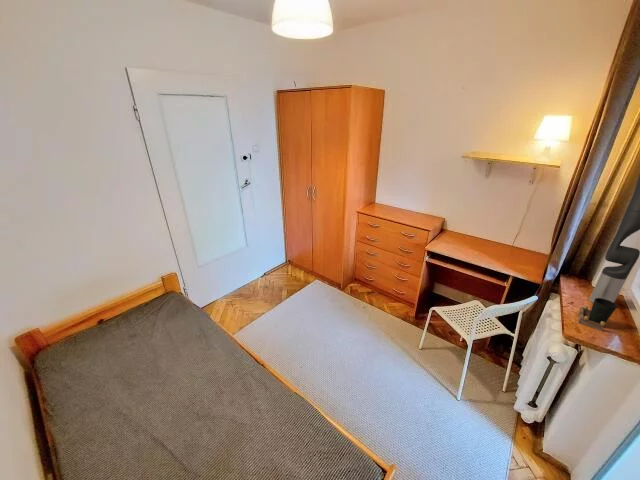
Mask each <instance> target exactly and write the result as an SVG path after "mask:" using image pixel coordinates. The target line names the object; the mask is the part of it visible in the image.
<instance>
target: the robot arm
mask: <svg viewBox="0 0 640 480" xmlns="http://www.w3.org/2000/svg"><path fill="white" fill-rule="evenodd" d="M638 231H640V173H639V174H638V178H637V180H636V184H635V187H634V191H633V193H632V196H631V198H630V201H629V203H628V205H627V207H626V209H625V211H624V214H623V215H622V219H621V221H620V224H619V226H618V229H617V231H616V233H615V236H614V237H613V239H612V241H611V242H610V245H608V246H609V247H608V248H607V250H606V253H605V256H604V258H605V260H606V261H607V262H610V263H615V264H619V265H617V266H605V267H604V268H603V269H602V270H601V272H600V275H599V278H598V280H597V282H596V284H595V285H594V288H593V289H592V292H591V295H590V296H589V301H590V302H591V303H592V304H593V303H594V300H595V298H602V299H606V300H609V301H611V302H613V303H616V300H617V298H618V297H619V295H620V293H621V290H622V289H623V286H624V284H625V283H626V281H627V278H628V276H629V275H630V273H631V271H632V269H633V267H634V266H635V264H636V263H637V261H638V259H639V257H640V250H639V248H635V247H631V246H626V245H625V246H624V245H621V244H622V243H623V242H624V241H625V240H626V239H627V238H628V237H630V236H631V235H633V234H635V233H637V232H638Z"/></svg>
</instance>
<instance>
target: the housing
mask: <svg viewBox="0 0 640 480" xmlns="http://www.w3.org/2000/svg"><path fill="white" fill-rule="evenodd" d="M590 312H591V310H590V309H589V306H588V305H584V306H583V307H580V308H579V310H578V319H577V320H578V321H577V323H578V324H580V325H582V326H586V327H588V328H591V329H595V330H597V331H600V332H603V330H604V327H605V324H606V323H605V322H603V321H601V323H600V324H599V323H596V322H593V321H590V320H588V319H589V315H590Z"/></svg>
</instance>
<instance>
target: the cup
mask: <svg viewBox="0 0 640 480" xmlns="http://www.w3.org/2000/svg"><path fill="white" fill-rule="evenodd" d="M617 308H618V305H617V303H616V302H614V303H613V302H611V301H609V300H606V299H602V298H595V300H594V303H593V302H592V306H591V312H590V315H589V316H588V317H589V318H588V320H590V321H593V322H596V323H599V324H600V323H601V321H603V322H605V324H606V323H607V322H608V320H609V319H610V318H611V316H612V315H613V314H614V312H615V311H616V309H617Z"/></svg>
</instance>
